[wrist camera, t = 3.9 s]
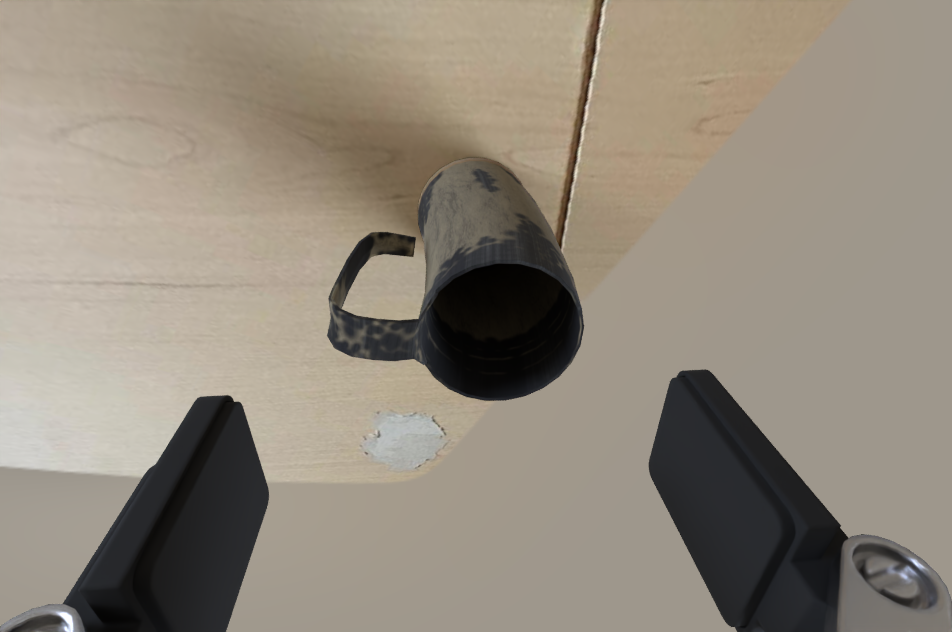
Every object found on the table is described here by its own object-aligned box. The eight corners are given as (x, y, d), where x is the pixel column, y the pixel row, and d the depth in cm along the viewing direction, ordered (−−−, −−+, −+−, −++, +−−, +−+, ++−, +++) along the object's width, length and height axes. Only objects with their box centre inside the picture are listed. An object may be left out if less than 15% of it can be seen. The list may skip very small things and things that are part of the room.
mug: (545, 168, 23) (637, 281, 13) (518, 272, 26) (577, 435, 15) (375, 139, 22) (323, 237, 11) (366, 252, 24) (318, 414, 14)
